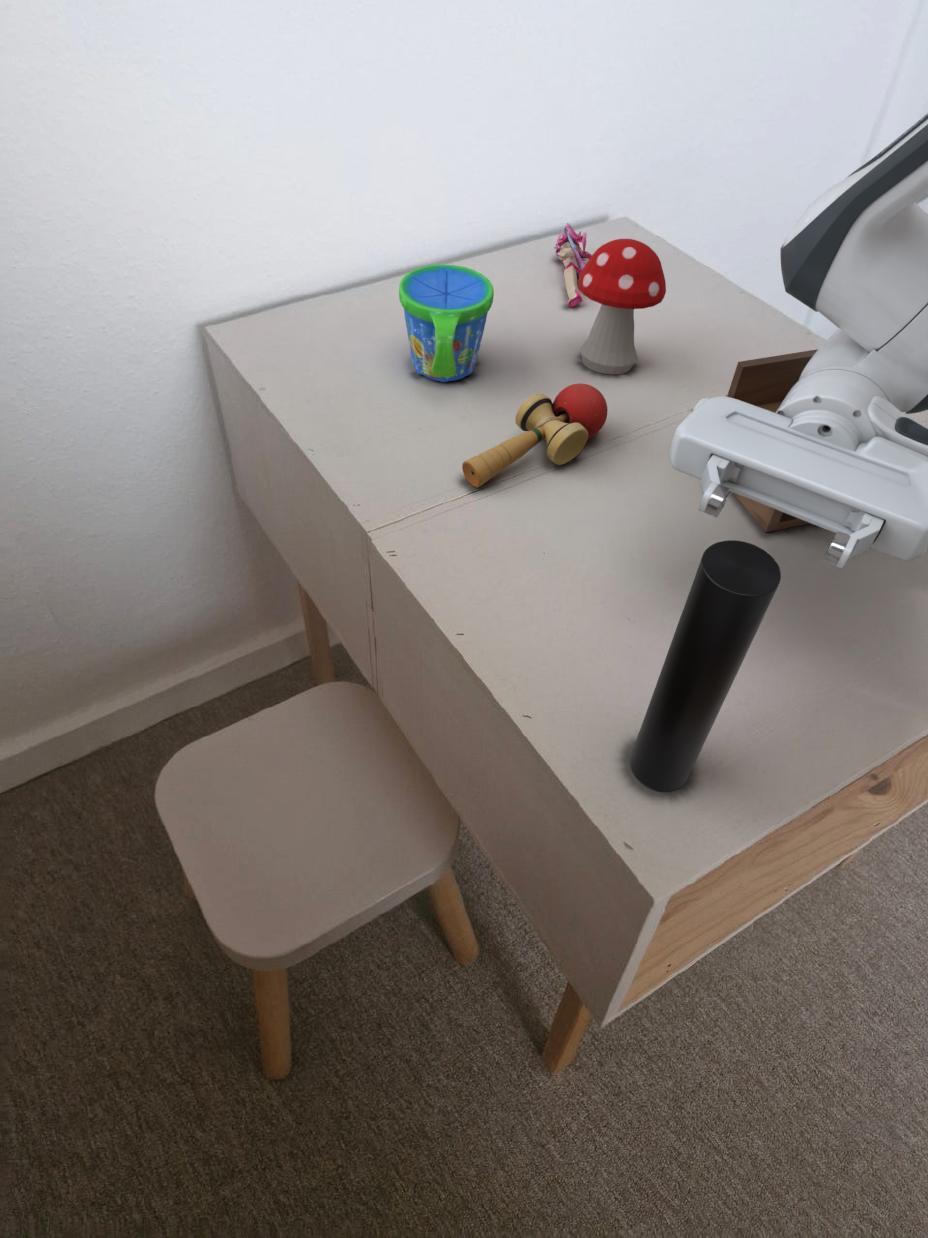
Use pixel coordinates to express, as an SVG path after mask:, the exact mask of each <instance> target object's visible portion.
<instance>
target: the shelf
mask: <svg viewBox="0 0 928 1238" xmlns="http://www.w3.org/2000/svg"><path fill="white" fill-rule="evenodd" d="M818 349H819V348H818ZM818 349H817V348H816V349H811V350H804V351H799V352H792V353H791V352H790V353H785V354H779V355H772V356H767V357H766V356H765V357H760V358H753V359H748V360H742V361H741V360H740V361H738V362H737V364H736V367H735V370H734V373H733V377H732V380H731V383H730V386H729V388H728V392H727V395H726V397H730V398H734V399H738V400H740V401H743V402H746V403H749V404H752V405H754V406H757V407H760V408H763V409H766V410H768V411H771V412H774V413H776V411H777V409H778V408H779V406H780V405H781V403H782V402H783V400H784V399H785V397H786V396H787V394H788V393H789V391H790V390H791V388H792V387H793V386H794V385H795V384H796V383H797V382H798V381H799V378H800V376H801V373H802V372H803V370H804V368H805V367H806V365H807V364H808V362H809V361H810V359H811V358H812V357H813V355H814V354H815V353H816V352H817V350H818ZM733 494H734V496H735V497H736V498H737V499H738V501H739V502H740V503H741V505H743V507H744V508H745V510H746V511H747V512H748V513H749V514H750V515H751V517H752V518H753V519H754V521H755V522H756V523H757V524H758V526H759V527H760V528H761V529H762V531H763V532H764V533H770V532H774V531H775V532H776V531H779V530H784V529H788V528H789V529H790V528H793V527H799V526H803V525H808V524H810V523H809V522H806V521H804V520H801V519H799V518H796V517H794V516H791V515H789V514H786V513H784V512H781V511H779V510H776V509H774V508H771V507H769V506H766V505H763V504H761V503H758V502H756V501H753V500H751V499H748V498H746V497H743V496H741V495H738V494H736V493H733Z"/></svg>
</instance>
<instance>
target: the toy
mask: <svg viewBox="0 0 928 1238" xmlns="http://www.w3.org/2000/svg"><path fill="white" fill-rule="evenodd" d="M587 236H588V232H583V233H582V231H579V232H578V233H576V231H575V230H574V228H573V227H572V226H571V224H570V223H569V222H566V225H565V227H564V230H563V233H562V234H559V235H558V236H557V237H558V238H557V240H556V243H555V246H554V247H553V249H555V250H556V251H555V257H558V259H559V261H560V263H561V264H563V266H564V269H563V271H562V272H563V277H564V286H565V291H566V294H567V297H568V301H567V305H568V307H570V308H573V307H575V306H577V305H578V304H580V303H582V302H583V298H582V295H581V294H580V293H579V288H578V281H579V276H580V274H581V271H582V269H583V268H584V266H585V265H586V263H587V262H588V261H586V260H583V259H587V260H589V259H590V258H591V256H592V255H593V254H591V253H590V252H588V251H587V250H586V245H587ZM580 243H581V244H582V247H581V246H580Z"/></svg>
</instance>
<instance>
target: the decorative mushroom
mask: <svg viewBox="0 0 928 1238" xmlns="http://www.w3.org/2000/svg"><path fill="white" fill-rule="evenodd" d="M591 255H592V256H591V258H590V259H588V260H587V261H586V262H587V263H586V265H585V266H584V268H583V269H582V271H581V274H580V276H579V281H578V280H577V287H578V291H580V292H581V294H582V295H583V296H584V297H586V298H588V299H589V300H591V301H592V302H595V303H598V304H600V308H599V310H598V312H597V315H596V317H595V319H594V322H593V324H592V326H591V329H590V332H589V335H588V337H587V339H586V340H585V341H584V343H583V344H582V345H581V347H580V350H579V351H580V356H581V362H582V364H583V365H584V366H585V367H586V368H587V369H589V370H591V371H593V372H596V373H600V374H604V375H612V376H613V375H622V374H626V373H628V372H629V371H631V369H632V368H633V366H634V364H635V363H636V361H637V360H638V354H637V350H636V347H635V318H634V317H635V315H634V314H635V310H643V309H648V308H652V307H655V306H658V304H661V303H662V301H663V300H664V298H665V295H666V293H667V283H666V277H665V273H664V270H663V266H662V262H661V260H660V257H659V255H658V253H657V252H655V251H654V250H653V248H651V247H650V246H649V245H648V244H646V243H644V242H642V241H639V240H637V239H632V238H618V239H613V240H610V241H607V242H606V243H603V244H602V245H601V246H599V247H598V248H596V250H595V251H594V252H593V253H592V254H591Z"/></svg>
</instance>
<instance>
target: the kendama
mask: <svg viewBox="0 0 928 1238" xmlns="http://www.w3.org/2000/svg"><path fill="white" fill-rule="evenodd" d="M607 418H608V403H607V400H606V398H605V397H604V395H603V394H602V392H601V391H600V390H599V389H598V388H596V387H595V386H593V385H590V384H588V383H581V382H580V383H572V384H570V385H568V386H566V387H564V388H563V389H561V390H560V391H559V392H558V393H557V395H556V396H555V398H554V400H552V399H551V398H550V397H549V396H548V395H547V394H544V393H541V392H540V393H539V392H537V393H534V394H533V395H530V396H529V397H528V398H527V399H526V400H524V401H523V403H522V404H521V405H520V407H519V408H518V410H517V412H516V413H515V424H516V425H517V427H518V428H519V429H520V430H521V431H524V432H523V433H521V434H518V435H516V436H513V437H511V438H509V439H507V440H505V441H502V442H501V443H499V444H497V445H495V446H493V447H491V448H489V449H487V450H485V451H484V452H483V451H482V452H481V453H479V454H477V455H474V456H473V457H470V458H469V459H466V460H465V461H463V462H462V464H461V469H462V472H463V475H464V477H465V479H466V480H467V482H468V483H469V484H470V485H471V486H472V487H474V488H477V489H478V488H480V487H481V486H483V485H484V484H485V483H487V482H488V481H489V480H490V479H492V478H494V477H495V476H496V475H497V474H499V473H500V472H502V471H503V470H505V469H506V468H508V467H509V466H510V465H512V464H514V463H515V462H516V461H517V460H519V459H520V458H522V457H523V456H524V455H526V454H527V453H528V452H530V450H532V449H533V448H534V447H535V446H537V445H538V444H539V443H540V442H541V441H542V440H544V441H545V443H546V457H547V458H548V459H549V460H550V461H551V462H552V464H553V463H554V464H555V465H556V466H561V465H562V466H563V465H565V464H567V463H569V462H571V461H572V460H573V459H574V458H576V457H577V456H578V455H579V454H580V453H581V452H582V451H583V449H584V447H585V446H586V443H587V441H588V439H591V438H594V437H595V436H596V435H598V433H599V432H600V431H601V430H602V429H603V427H604V426H605V423H606V421H607Z"/></svg>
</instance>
